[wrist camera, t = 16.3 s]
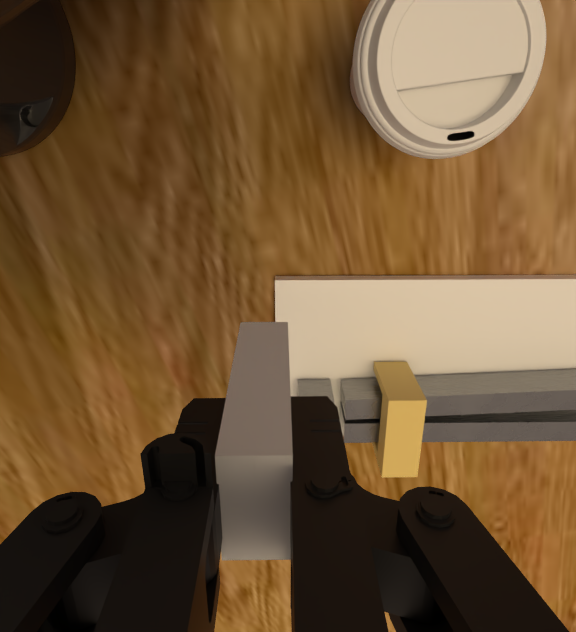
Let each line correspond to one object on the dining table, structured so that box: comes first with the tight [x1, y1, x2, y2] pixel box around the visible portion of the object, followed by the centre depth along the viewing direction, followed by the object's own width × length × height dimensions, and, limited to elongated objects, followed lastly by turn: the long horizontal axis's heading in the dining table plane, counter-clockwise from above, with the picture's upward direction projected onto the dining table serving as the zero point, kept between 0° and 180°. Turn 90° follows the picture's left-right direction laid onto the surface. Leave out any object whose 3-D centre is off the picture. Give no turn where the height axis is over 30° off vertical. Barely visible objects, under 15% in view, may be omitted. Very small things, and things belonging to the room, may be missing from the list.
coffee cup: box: [350, 0, 546, 159], centre depth 30 cm, size 10×10×15 cm
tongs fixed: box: [298, 380, 576, 443], centre depth 44 cm, size 28×4×4 cm, turn 90°
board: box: [275, 275, 576, 415], centre depth 45 cm, size 34×16×1 cm, turn 90°
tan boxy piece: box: [372, 362, 427, 477], centre depth 42 cm, size 3×8×6 cm, turn 0°
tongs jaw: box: [341, 369, 576, 420], centre depth 43 cm, size 24×2×4 cm, turn 92°
